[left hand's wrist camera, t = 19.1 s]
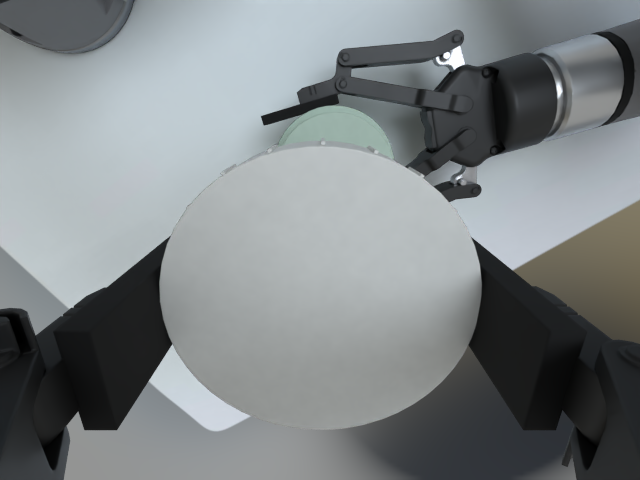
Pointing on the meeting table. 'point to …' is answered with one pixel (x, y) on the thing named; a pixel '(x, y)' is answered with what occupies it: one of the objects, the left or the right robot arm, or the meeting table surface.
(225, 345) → the lid
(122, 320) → the left robot arm
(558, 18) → the meeting table surface
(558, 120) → the right robot arm
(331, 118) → the jar
